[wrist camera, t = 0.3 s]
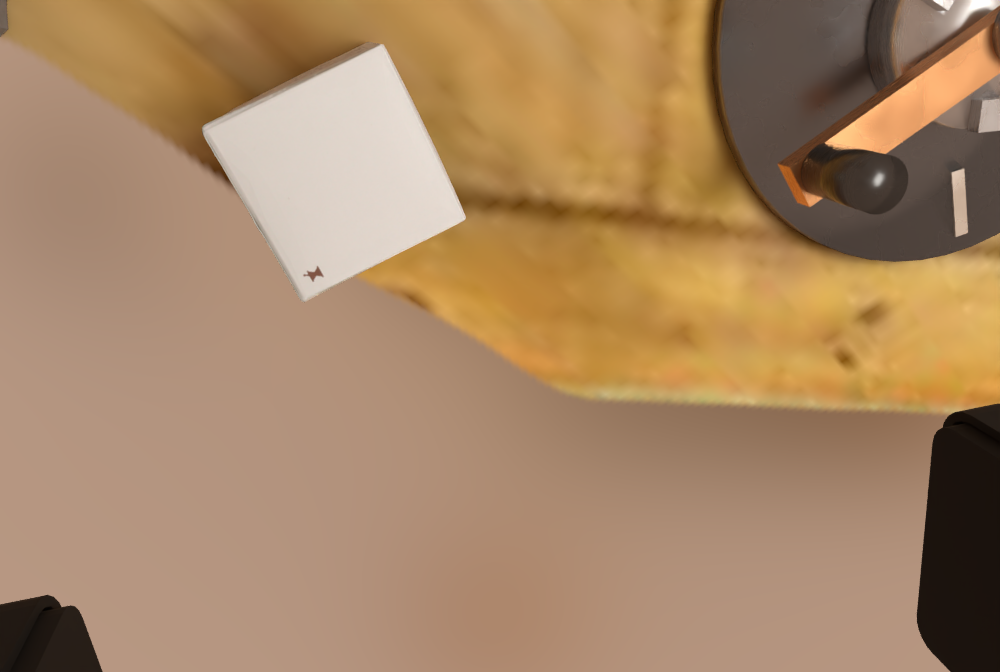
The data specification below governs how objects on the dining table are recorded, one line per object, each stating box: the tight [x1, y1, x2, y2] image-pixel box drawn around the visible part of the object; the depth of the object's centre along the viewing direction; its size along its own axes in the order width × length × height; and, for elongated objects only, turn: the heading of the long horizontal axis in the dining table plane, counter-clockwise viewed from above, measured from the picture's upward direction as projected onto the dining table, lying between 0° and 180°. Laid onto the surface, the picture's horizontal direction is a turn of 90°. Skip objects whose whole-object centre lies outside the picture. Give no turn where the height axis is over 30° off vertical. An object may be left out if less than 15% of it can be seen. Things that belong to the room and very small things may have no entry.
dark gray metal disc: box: [712, 0, 1000, 262], centre depth 45 cm, size 26×26×1 cm
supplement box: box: [202, 42, 466, 302], centre depth 36 cm, size 7×7×13 cm
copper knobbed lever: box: [778, 0, 1000, 215], centre depth 40 cm, size 18×10×9 cm, turn 125°
